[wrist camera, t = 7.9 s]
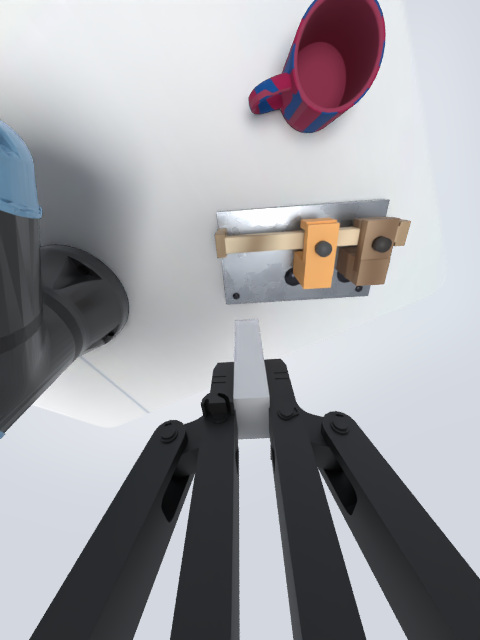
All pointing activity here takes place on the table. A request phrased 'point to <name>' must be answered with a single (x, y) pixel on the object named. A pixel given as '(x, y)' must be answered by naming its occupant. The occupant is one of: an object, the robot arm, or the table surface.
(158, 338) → the table surface
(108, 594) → the robot arm
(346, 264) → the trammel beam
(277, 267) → the flange plate
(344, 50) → the mug
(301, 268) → the slider leg
